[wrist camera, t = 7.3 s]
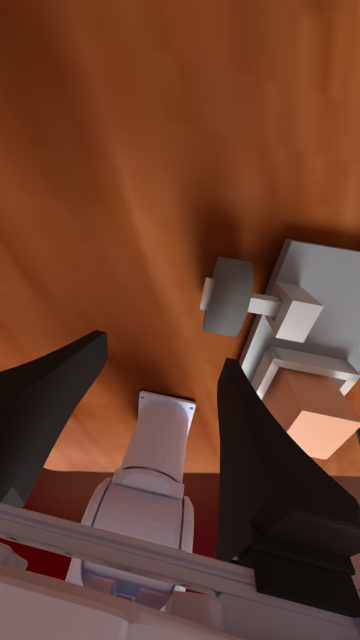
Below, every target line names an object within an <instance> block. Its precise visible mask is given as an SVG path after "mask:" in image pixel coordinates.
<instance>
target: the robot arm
mask: <svg viewBox="0 0 360 640" xmlns="http://www.w3.org/2000/svg"><path fill="white" fill-rule="evenodd" d="M107 359H108V355H107V334H106V332H103V331H99V330H96V331H93V332H91V333H89V334H87V335H86V336H84V337H82V338H80V339H78V340H76V341H74V342H72V343H70V344H68V345H66V346H64V347H62V348H60V349H58V350H56V351H53V352H51V353H49V354H47V355H45V356H42V357H40V358H38V359H35V360H33V361H30V362H28V363H25V364H22V365H20V366H17V367H14V368H11V369H8V370H5V371H1V372H0V538H3V539H7V540H10V541H14V542H18V543H21V544H25V545H29V546H32V547H36V548H40V549H43V550H47V551H51V552H55V553H59V554H62V555H66V556H69V557H72V561H71V564H70V568H69V571H68V574H67V577H66V580H65V581H63V580H59V579H55V578H52V577H48V576H44V575H40V574H37V573H33V572H29V571H25V569H26V567H27V565H28V563H27V561H26V560H24V559H23V558H21V557H19V556H18V555H16V554H15V553H14V552H13V551H12V550H11V547H10V546H7V545H5V544H2V543H0V640H360V589H357V590H356V588H355V585H354V583H353V580H352V577H351V575H355V570H354V567H353V565H352V562H351V559H350V557H351V556H353V555H356V554H358V553H360V506H359V504H358V502H357V500H356V499H355V498H354V497H353V496H352V495H351V494H350V493H348V492H347V491H346V490H345V489H344V488H342V486H340V485H339V484H338V483H337V482H336V481H335V480H334V479H333V478H331V477H330V476H329V475H328V474H327V473H326V472H325V471H324V470H323V469H322V468H321V467H320V466H319V465H318V464H317V463H316V462H315V461H314V460H313V459H312V458H310V457H309V456H308V455H307V453H306V452H305V451H304V450H303V449H302V448H301V447H300V446H299V445H298V444H297V443H296V442H295V441H294V440H293V439H292V438H291V436H290V435H289V434H288V433H287V432H286V431H285V430H284V429H283V427H282V426H281V425H280V424H279V423H278V421H277V420H276V419H275V418H274V416H273V415H272V414H271V413H270V411H269V410H268V409H267V407H266V406H265V404H264V403H263V401H262V400H261V399H260V397H259V396H258V394H257V393H256V391H255V389H254V388H253V386H252V385H251V383H250V381H249V380H248V378H247V376H246V374H245V373H244V371H243V369H242V367H241V366H240V364H239V362H238V360H235V359H230V358H226V361H225V364H224V367H223V369H222V372H221V375H220V378H219V380H218V388H217V406H218V419H219V432H220V486H219V508H218V527H217V544H216V558H215V559H213V558H209V557H205V556H201V555H197V554H193V553H192V545H193V530H194V529H193V528H194V510H193V506H192V504H191V502H190V499H189V497H187V496H183V492H184V485H183V484H182V477H183V469H184V460H185V451H186V441H187V436H188V432H189V428H190V425H191V421H192V418H193V414H194V410H195V407H196V403H195V402H193V401H188V400H184V399H179V398H174V397H170V396H165V395H160V394H156V393H151V392H146V391H141V392H140V394H139V410H138V420H137V422H136V425H135V428H134V431H133V434H132V436H131V439H130V442H129V445H128V448H127V451H126V453H125V456H124V459H123V462H122V465H121V467H120V469H116V471H115V473H114V476H113V479H112V478H106V479H105V480H104V481H103V482H102V483H101V484H100V485H99V486H98V487H97V489H96V490H95V492H94V494H93V496H92V498H91V500H90V502H89V504H88V506H87V509H86V511H85V514H84V517H83V519H82V522H81V524H79V523H75V522H71V521H67V520H64V519H60V518H56V517H52V516H48V515H45V514H41V513H37V512H33V511H30V510H26V509H22V508H21V507H22V506H24V505H25V503H26V501H27V499H28V497H29V495H30V493H31V491H32V488H33V486H34V484H35V482H36V480H37V478H38V476H39V474H40V471H41V469H42V468H43V466H44V464H45V462H46V460H47V458H48V456H49V454H50V452H51V450H52V448H53V446H54V445H55V443H56V441H57V439H58V437H59V435H60V434H61V432H62V430H63V428H64V426H65V425H66V423H67V421H68V419H69V418H70V416H71V414H72V412H73V411H74V409H75V408H76V406H77V405H78V403H79V402H80V401H81V399H82V398H83V396H84V395H85V394H86V392H87V391H88V389H89V388H90V386H91V385H92V384H93V382H94V381H95V379H96V378H97V376H98V375H99V374H100V372H101V370H102V368H103V366H104V364H105V362H106V360H107ZM186 588H188V589H191V590H195V591H198V592H202V593H206V594H210V595H213V596H216V597H213V596H209V595H204V594H197V593H190V592H185V589H186Z"/></svg>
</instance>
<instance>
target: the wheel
mask: <svg viewBox="0 0 360 640" xmlns="http://www.w3.org/2000/svg"><path fill="white" fill-rule="evenodd" d="M253 281H254V268H253V264H252V263H251V262H248V261H242V260H236V259H230V258H225V257H218V258H217V261H216V264H215V267H214V271H213V275H212V278H207V277H206V280H205V284H204V288H203V293H202V299H201V304H200V309H201V310H205V315H204V322H203V331H205V332H210V333H215V334H220V335H225V336H230V337H235V336H236V335H237V334H238V333H239V331H240V330H241V328H242V325H243V323H244V320H245V318H246V315H247V312H251V313H257V314H262V315H267V316H273V317H276V316H277V314H278V311H279V309H280V307H281V305H282V302H283V300H282V299H281V298H279V297H274V296H268V295H262V294H257V293H252V289H253Z"/></svg>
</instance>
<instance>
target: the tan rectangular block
mask: <svg viewBox="0 0 360 640" xmlns="http://www.w3.org/2000/svg"><path fill="white" fill-rule="evenodd" d="M262 401H263V403H264V404H265V406H266V407H267V409H268V410H269V411H270V413H271V414H272V415H273V416H274V418H275V419H276V420H277V421H278V423H279V424H280V425H281V426H282V427H283V429H284V430H285V431H286V432H287V433H288V434H289V435H290V436H291V438H292V439H293V440H294V441H295V442H296V443H297V444H298V445H299V446H300V447H301V448H302V449H303V450H304V451H305V452H306V453H307V455H308V456H311V457H316V458H320V459H325V460H326V459H327V458H328V457H329V456H330V455H331V454H332V453H333V452H334V451H335V450H337V449H338V448H339V447H340V446H341V445H342V444H343V443H344V442H345V441H346V440H347V439H348V438H349V437H350V436H351V435H352V434H353V433H354V432H355V431H356V430H357V429H358V428H359V427H360V418H359V416H358V415H357V413H356V412H355V411H354V409H353V408H352V406H351V405H350V404H349V402H348V401H347V399H346V398H345V397H344V395H343V394H342V392H341V391H340V390H339V388H338V387H337V385H336V384H335V382H334V381H333V380H332V378H331V377H328V376H323V375H318V374H313V373H308V372H303V371H298V370H293V369H288V368H283V367H279V368H278V370H277V372H276V374H275V376H274V377H273V379H272V381H271V383H270V385H269V387H268V389H267V391H266V392H265V394H264V396H263V398H262Z"/></svg>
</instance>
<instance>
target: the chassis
mask: <svg viewBox="0 0 360 640" xmlns="http://www.w3.org/2000/svg"><path fill="white" fill-rule="evenodd" d="M264 295H268V296H274V297H279V298H281V299H282V300H283V302H282V305H281V307H280V309H279V311H278V314H277V316H276V317H273V316H267V315H262V314H257V315H256V317H255V320H254V323H253V325H252V328H251V330H250V333H249V336H248V338H247V341H246V343H245V346H244V349H243V351H242V354H241V357H240V359H239V364H240V366H241V367H242V369H243V371H244V373H245V374H246V376H247V378H248V380H249V381H250V383H251V385H252V386H253V388H254V389H255V391H256V393H257V394H258V396H259V397H260V399H261V400H262V398H263V396H264V394H265V392H266V391H267V389H268V387H269V385H270V383H271V381H272V379H273V377H274V376H275V374H276V372H277V370H278V368H279V367H283V368H288V369H293V370H298V371H303V372H308V373H313V374H318V375H323V376H328V377H331V378H332V380H333V381H334V382H335V384H336V385H337V387H338V388H339V390H340V391H341V392H342V394H343V395H344V396H345V395H346V393H347V392H348V391H349V390H350V389H351V387H352V386H353V385H354V384H355V383H356V382H357V380H358V379H359V378H360V374H359V373H358V372H359V371H360V251H359V250H352V249H346V248H340V247H334V246H328V245H322V244H316V243H309V242H303V241H297V240H291V239H285V241H284V244H283V247H282V249H281V252H280V255H279V257H278V260H277V262H276V265H275V268H274V270H273V273H272V275H271V278H270V281H269V283H268V286H267V289H266V291H265V294H264Z"/></svg>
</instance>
